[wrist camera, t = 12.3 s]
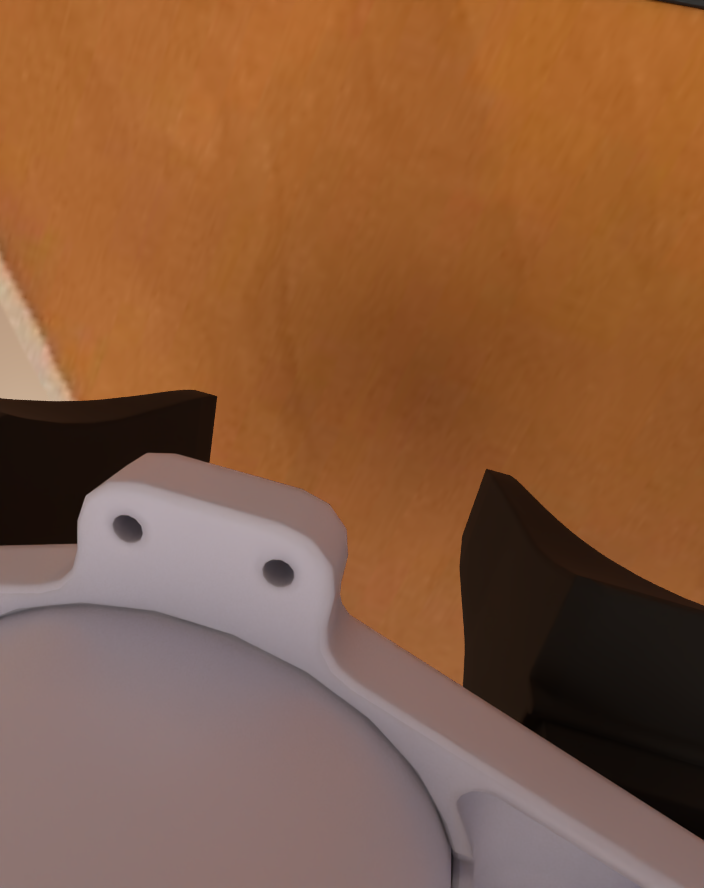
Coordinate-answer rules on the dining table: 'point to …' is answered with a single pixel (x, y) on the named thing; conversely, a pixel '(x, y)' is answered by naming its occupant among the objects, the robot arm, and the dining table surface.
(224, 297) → the dining table surface
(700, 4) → the mat
